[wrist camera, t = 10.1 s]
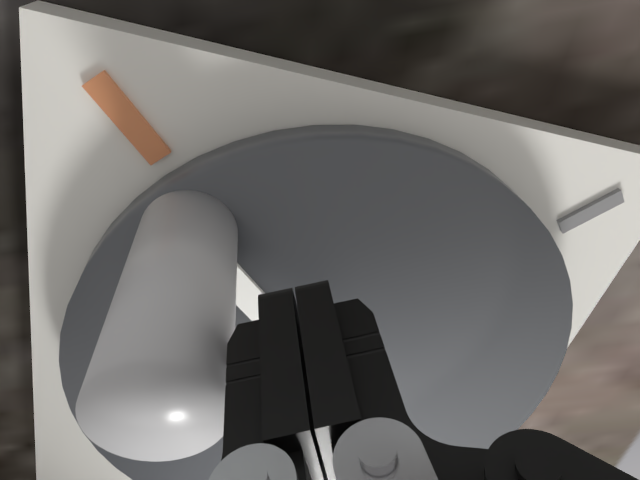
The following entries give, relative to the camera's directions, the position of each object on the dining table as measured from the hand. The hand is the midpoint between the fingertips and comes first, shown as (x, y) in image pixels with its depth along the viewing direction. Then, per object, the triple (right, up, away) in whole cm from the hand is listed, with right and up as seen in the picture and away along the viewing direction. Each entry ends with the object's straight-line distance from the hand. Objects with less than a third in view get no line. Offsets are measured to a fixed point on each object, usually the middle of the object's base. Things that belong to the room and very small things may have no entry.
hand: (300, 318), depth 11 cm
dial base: (0, -2, +12) cm, 12 cm away
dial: (+1, -3, +11) cm, 11 cm away
